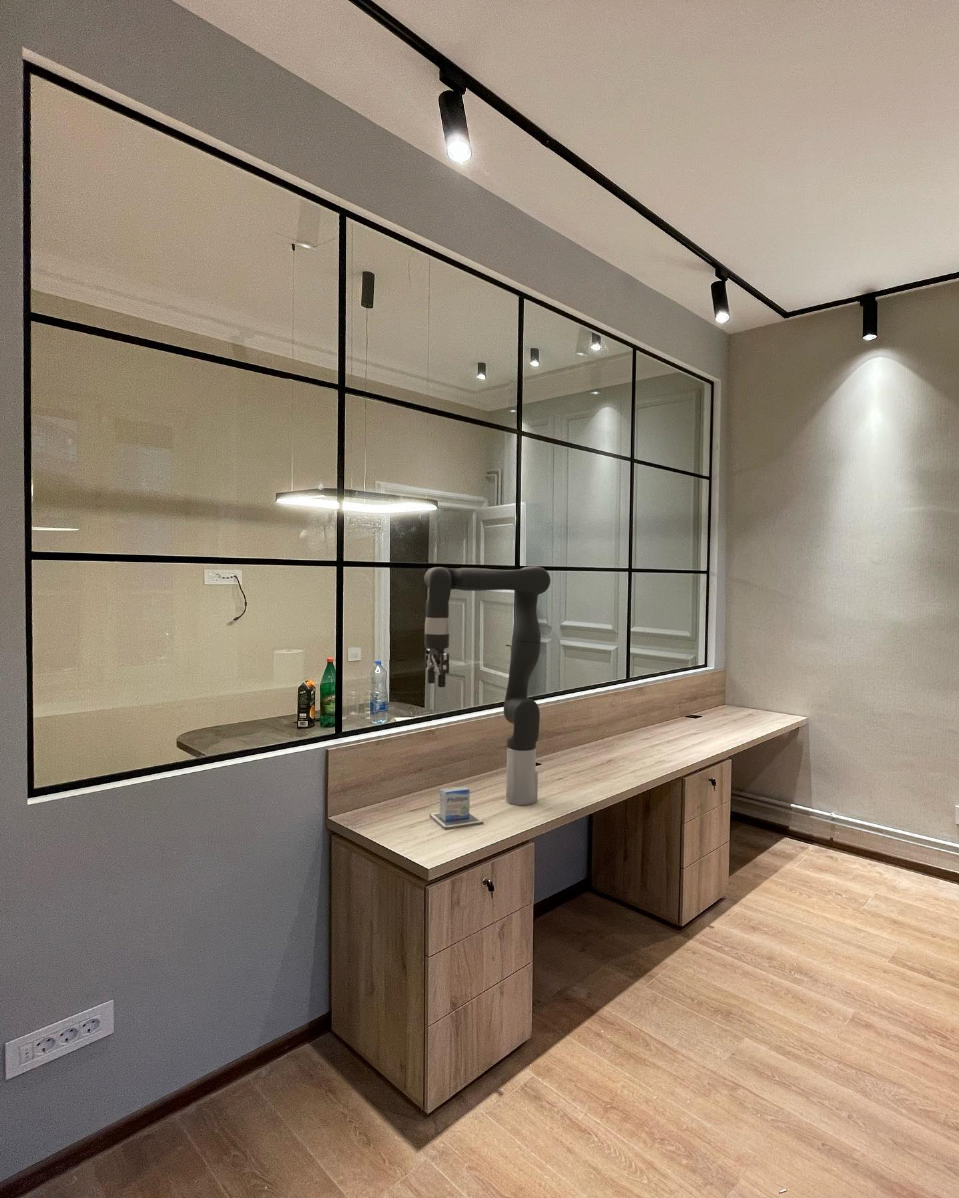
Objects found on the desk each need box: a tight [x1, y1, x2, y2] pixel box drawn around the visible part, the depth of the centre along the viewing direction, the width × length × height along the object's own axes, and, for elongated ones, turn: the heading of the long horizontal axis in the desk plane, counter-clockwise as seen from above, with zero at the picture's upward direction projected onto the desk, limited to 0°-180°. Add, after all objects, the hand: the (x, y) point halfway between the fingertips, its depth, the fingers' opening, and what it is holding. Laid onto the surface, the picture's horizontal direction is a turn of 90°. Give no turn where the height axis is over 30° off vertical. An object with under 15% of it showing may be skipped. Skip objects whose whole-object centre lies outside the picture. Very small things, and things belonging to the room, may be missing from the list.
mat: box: [429, 810, 484, 831], centre depth 200 cm, size 12×12×1 cm
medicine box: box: [439, 785, 471, 822], centre depth 200 cm, size 8×4×9 cm, turn 115°
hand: (436, 685), depth 209 cm, fingers open, 8 cm apart
